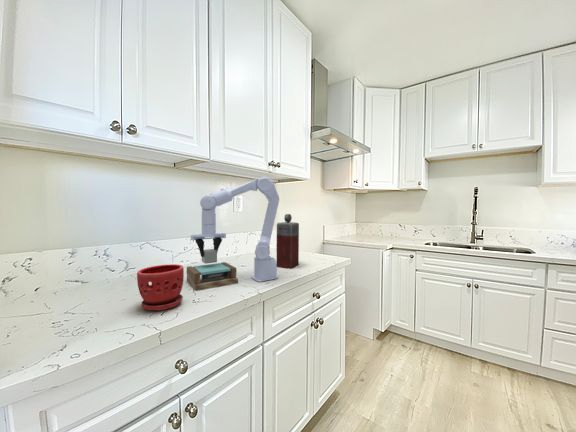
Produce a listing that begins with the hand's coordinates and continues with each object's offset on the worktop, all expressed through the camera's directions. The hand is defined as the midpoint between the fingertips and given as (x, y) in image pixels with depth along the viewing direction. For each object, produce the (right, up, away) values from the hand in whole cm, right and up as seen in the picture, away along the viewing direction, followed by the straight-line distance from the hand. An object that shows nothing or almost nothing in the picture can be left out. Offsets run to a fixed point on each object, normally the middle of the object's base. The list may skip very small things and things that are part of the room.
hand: (208, 255), depth 106 cm
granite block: (0, -3, 0) cm, 3 cm away
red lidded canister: (+33, -10, +26) cm, 43 cm away
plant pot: (-6, -12, -28) cm, 31 cm away
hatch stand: (+2, -11, -3) cm, 11 cm away
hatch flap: (+2, -8, -3) cm, 9 cm away
